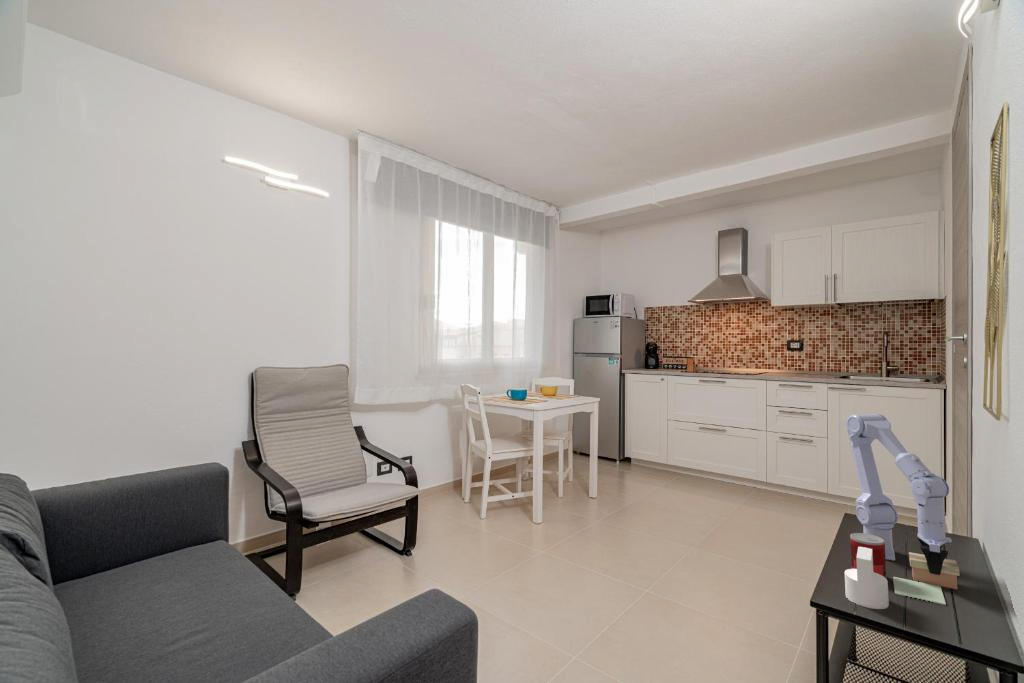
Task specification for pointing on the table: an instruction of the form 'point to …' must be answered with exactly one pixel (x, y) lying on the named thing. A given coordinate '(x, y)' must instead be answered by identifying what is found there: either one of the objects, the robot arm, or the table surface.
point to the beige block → (921, 562)
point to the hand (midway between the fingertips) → (933, 569)
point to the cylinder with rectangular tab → (866, 582)
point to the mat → (918, 590)
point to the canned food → (872, 543)
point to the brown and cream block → (934, 578)
